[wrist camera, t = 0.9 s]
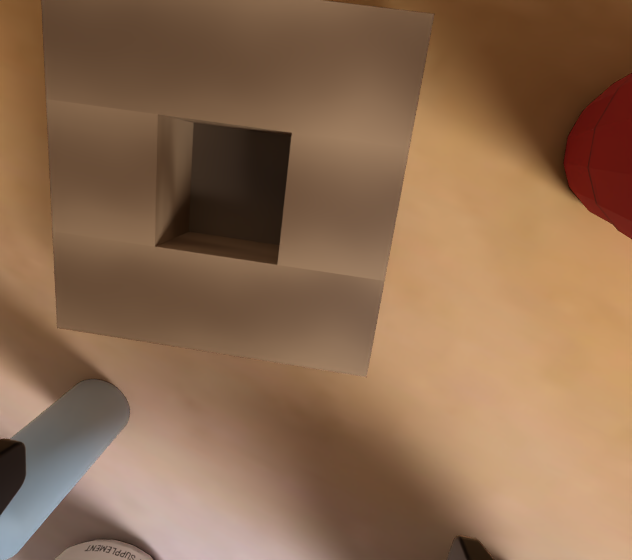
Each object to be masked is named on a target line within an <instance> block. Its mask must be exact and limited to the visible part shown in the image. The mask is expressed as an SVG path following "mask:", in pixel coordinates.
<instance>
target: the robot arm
mask: <svg viewBox="0 0 632 560" xmlns="http://www.w3.org/2000/svg"><path fill="white" fill-rule="evenodd" d="M25 477H26V447H25V445H24V443H22V442H20V441H16V440H11V439H0V516H1V514H2V513H3V511H4V510H5V509H6V507H7V506H8V505H9V503H10V502H11V500H12V499H13V498H14V496H15V495H16V494H17V492H18V491H19V489H20V488H21V486H22V485H23V483H24V480H25ZM447 560H494V558H493V557H492V556H491V555H490V553H489V552H488V551H487V550H486V548H485V547H484V546H483V545H482V544H481V542H480V541H479V540H477V539H475V538H472V537H467V536H462V535H457V536H456V537H455V538H454V540H453V543H452V546H451V549H450V552H449V555H448V558H447Z"/></svg>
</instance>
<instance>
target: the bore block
mask: <svg viewBox="0 0 632 560" xmlns="http://www.w3.org/2000/svg"><path fill="white" fill-rule="evenodd" d="M41 4H42V24H43V45H44V66H45V87H46V107H47V128H48V149H49V170H50V191H51V211H52V232H53V253H54V274H55V295H56V315H57V328H61V329H67V330H73V331H80V332H86V333H92V334H98V335H105V336H111V337H117V338H124V339H130V340H136V341H142V342H149V343H155V344H161V345H168V346H174V347H180V348H186V349H193V350H199V351H205V352H212V353H218V354H224V355H230V356H237V357H243V358H249V359H256V360H262V361H268V362H274V363H281V364H287V365H293V366H299V367H306V368H312V369H318V370H325V371H331V372H337V373H343V374H350V375H356V376H362V377H367V372H368V367H369V361H370V356H371V351H372V345H373V340H374V335H375V329H376V324H377V319H378V313H379V308H380V303H381V297H382V292H383V286H384V281H385V276H386V270H387V265H388V260H389V254H390V249H391V244H392V238H393V233H394V228H395V222H396V217H397V211H398V206H399V201H400V195H401V190H402V185H403V179H404V174H405V169H406V163H407V158H408V153H409V147H410V142H411V137H412V131H413V126H414V120H415V115H416V110H417V104H418V99H419V94H420V88H421V83H422V78H423V72H424V67H425V62H426V56H427V51H428V45H429V40H430V35H431V29H432V24H433V19H434V14H431V13H423V12H415V11H407V10H398V9H390V8H382V7H374V6H366V5H358V4H349V3H341V2H333V1H325V0H41Z"/></svg>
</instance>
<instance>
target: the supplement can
mask: <svg viewBox="0 0 632 560" xmlns="http://www.w3.org/2000/svg"><path fill="white" fill-rule="evenodd" d="M54 560H154V559H153V558H152V557H151V556H150V555H149V554H147V553H145V552H144V551H142V550H140V549H139V548H137V547H135V546H134V545H131V544H127V543H124V542H121V541H117V540H93V541H90V542H84V543H81V544H78V545H75V546H72V547H69V548H67V549H66V550H64V551H63V552H62V553H61V554H60V555H59V556H58V557H57V558H55V559H54Z"/></svg>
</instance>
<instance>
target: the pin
mask: <svg viewBox="0 0 632 560" xmlns="http://www.w3.org/2000/svg"><path fill="white" fill-rule="evenodd" d="M129 416H130V409H129V405H128V402H127V400H126V398H125V396H124V395H123V394H122V392H121V391H120V390H119V389H118V388H116V387H115V386H113V385H112V384H110V383H108V382H105V381H102V380H97V379H89V380H85V381H82V382H80V383H78V384H77V385H75V386H74V387H73V388H72V389H71V390H69V391H68V392H67V393H66V394H64V395H63V396H62V397H61V398H60V399H58V400H57V401H56V402H55V403H53V404H52V405H51V406H50V407H49V408H47V409H46V410H45V411H44V412H42V413H41V414H40V415H39V416H38V417H36V418H35V419H34V420H33V421H31V422H30V423H29V424H28V425H27V426H25V427H24V428H23V429H22V430H20V431H19V432H18V433H17V434H16V435H14V436H13V437H12V438H11V440H16V441H20V442H22V443H24V445H25V447H26V477H25V480H24V483H23V485H22V486H21V488H20V489H19V491H18V492H17V494H16V495H15V496H14V498H13V499H12V500H11V502H10V503H9V505H8V506H7V507H6V509H5V510H4V511H3V513H2V514H1V516H0V560H6V559H9V558H11V557H13V556H14V555H15V554H17V553H18V551H19V550H20V549H21V548H22V547H23V546H24V544H25V543H26V542H27V541H28V540H29V539H30V537H31V536H32V535H33V534H34V533H35V532H36V530H37V529H38V528H39V527H40V526H41V524H42V523H43V522H44V521H45V520H46V519H47V517H48V516H49V515H50V514H51V513H52V512H53V510H54V509H55V508H56V507H57V506H58V505H59V503H60V502H61V501H62V500H63V499H64V497H65V496H66V495H67V494H68V493H69V492H70V490H71V489H72V488H73V487H74V486H75V485H76V483H77V482H78V481H79V480H80V479H81V477H82V476H83V475H84V474H85V473H86V472H87V470H88V469H89V468H90V467H91V466H92V465H93V463H94V462H95V461H96V460H97V459H98V457H99V456H100V455H101V454H102V453H103V452H104V450H105V449H106V448H107V447H108V446H109V445H110V443H111V442H112V441H113V440H114V439H115V437H116V436H117V435H118V434H119V433H120V432H121V430H122V429H123V428H124V427H125V426H126V424H127V423H128V420H129Z"/></svg>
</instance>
